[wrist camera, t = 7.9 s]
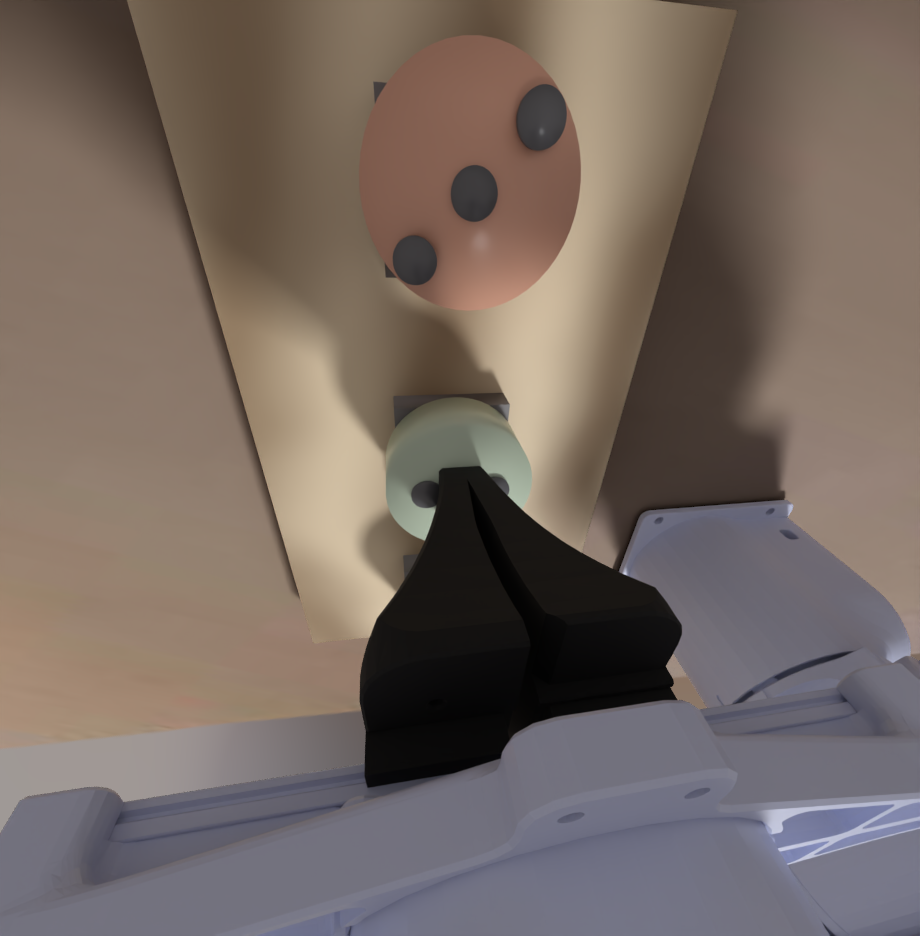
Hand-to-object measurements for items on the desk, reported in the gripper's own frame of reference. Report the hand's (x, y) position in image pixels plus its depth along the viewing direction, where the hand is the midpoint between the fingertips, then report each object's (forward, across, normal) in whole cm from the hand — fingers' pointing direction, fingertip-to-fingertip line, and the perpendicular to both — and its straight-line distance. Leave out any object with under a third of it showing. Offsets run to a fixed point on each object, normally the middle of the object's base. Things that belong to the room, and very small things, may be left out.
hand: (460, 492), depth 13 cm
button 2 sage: (+2, 0, 0) cm, 2 cm away
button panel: (+5, 0, 0) cm, 5 cm away
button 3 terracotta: (+2, 0, -8) cm, 8 cm away
